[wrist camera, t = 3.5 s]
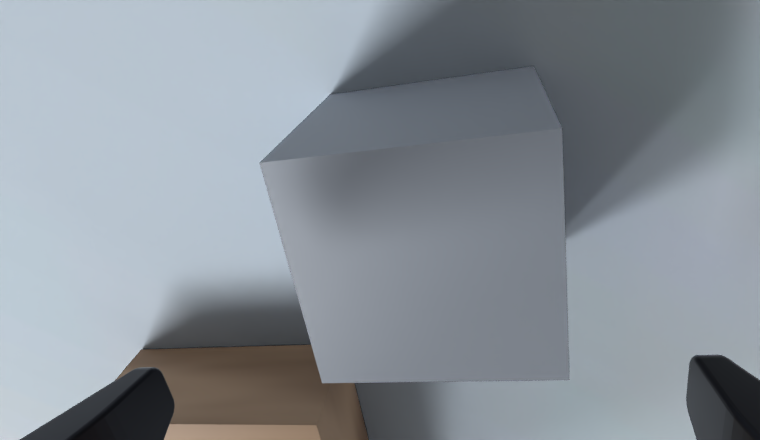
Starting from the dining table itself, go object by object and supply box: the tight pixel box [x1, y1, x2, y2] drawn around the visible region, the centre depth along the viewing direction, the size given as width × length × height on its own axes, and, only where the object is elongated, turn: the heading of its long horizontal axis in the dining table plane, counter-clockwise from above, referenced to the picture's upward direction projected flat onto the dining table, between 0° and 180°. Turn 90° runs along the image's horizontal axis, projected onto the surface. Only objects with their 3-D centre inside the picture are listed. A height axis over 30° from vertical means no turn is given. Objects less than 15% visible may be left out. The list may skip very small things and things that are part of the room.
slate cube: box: [260, 66, 569, 383], centre depth 14 cm, size 6×6×6 cm
